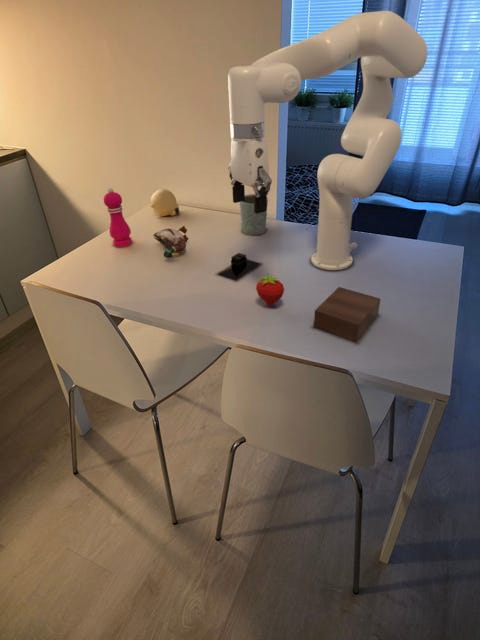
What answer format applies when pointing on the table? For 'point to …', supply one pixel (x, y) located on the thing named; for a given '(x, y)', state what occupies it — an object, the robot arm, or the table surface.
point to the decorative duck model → (172, 241)
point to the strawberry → (270, 290)
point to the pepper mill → (117, 220)
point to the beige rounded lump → (164, 203)
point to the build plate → (238, 267)
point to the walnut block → (346, 313)
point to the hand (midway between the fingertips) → (249, 206)
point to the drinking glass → (252, 217)
